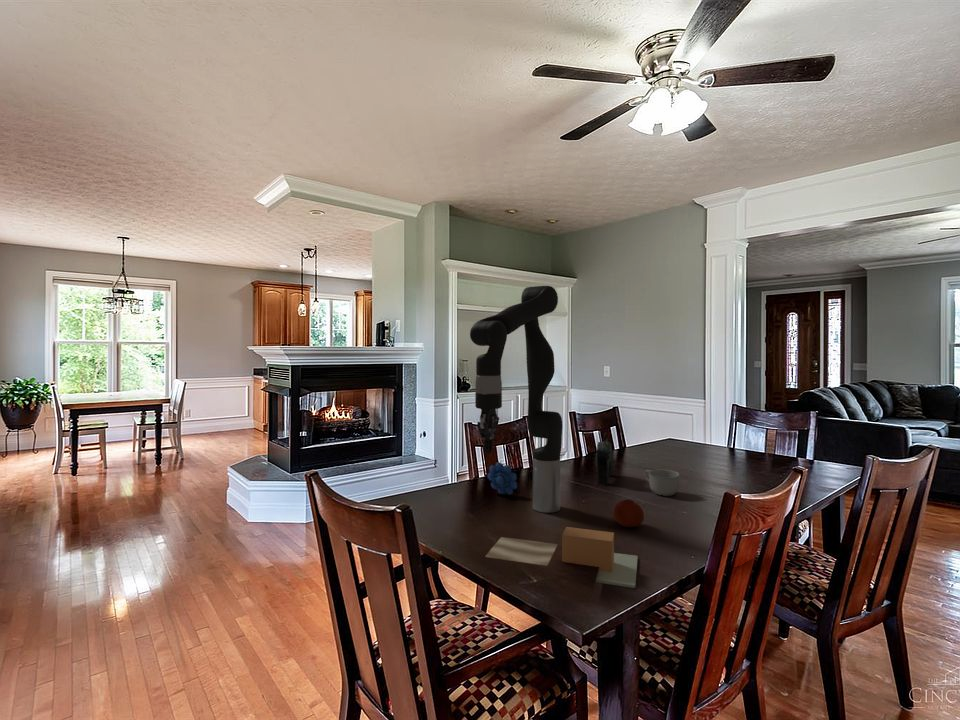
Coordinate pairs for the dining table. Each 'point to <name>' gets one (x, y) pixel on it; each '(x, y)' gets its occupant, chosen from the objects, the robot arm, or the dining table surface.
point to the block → (588, 548)
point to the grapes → (502, 478)
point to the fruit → (628, 513)
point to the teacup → (663, 481)
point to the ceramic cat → (604, 461)
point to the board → (522, 551)
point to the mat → (620, 571)
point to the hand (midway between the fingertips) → (488, 452)
